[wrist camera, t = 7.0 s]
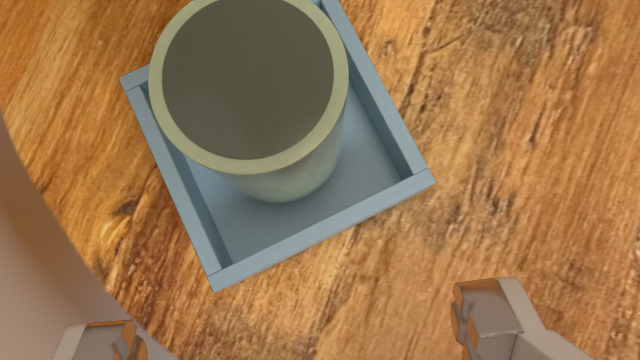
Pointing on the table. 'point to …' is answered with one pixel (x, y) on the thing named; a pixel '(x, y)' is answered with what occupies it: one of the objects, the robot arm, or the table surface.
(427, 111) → the table surface
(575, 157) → the table surface
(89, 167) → the table surface
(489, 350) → the robot arm
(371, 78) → the open bin
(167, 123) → the cup
